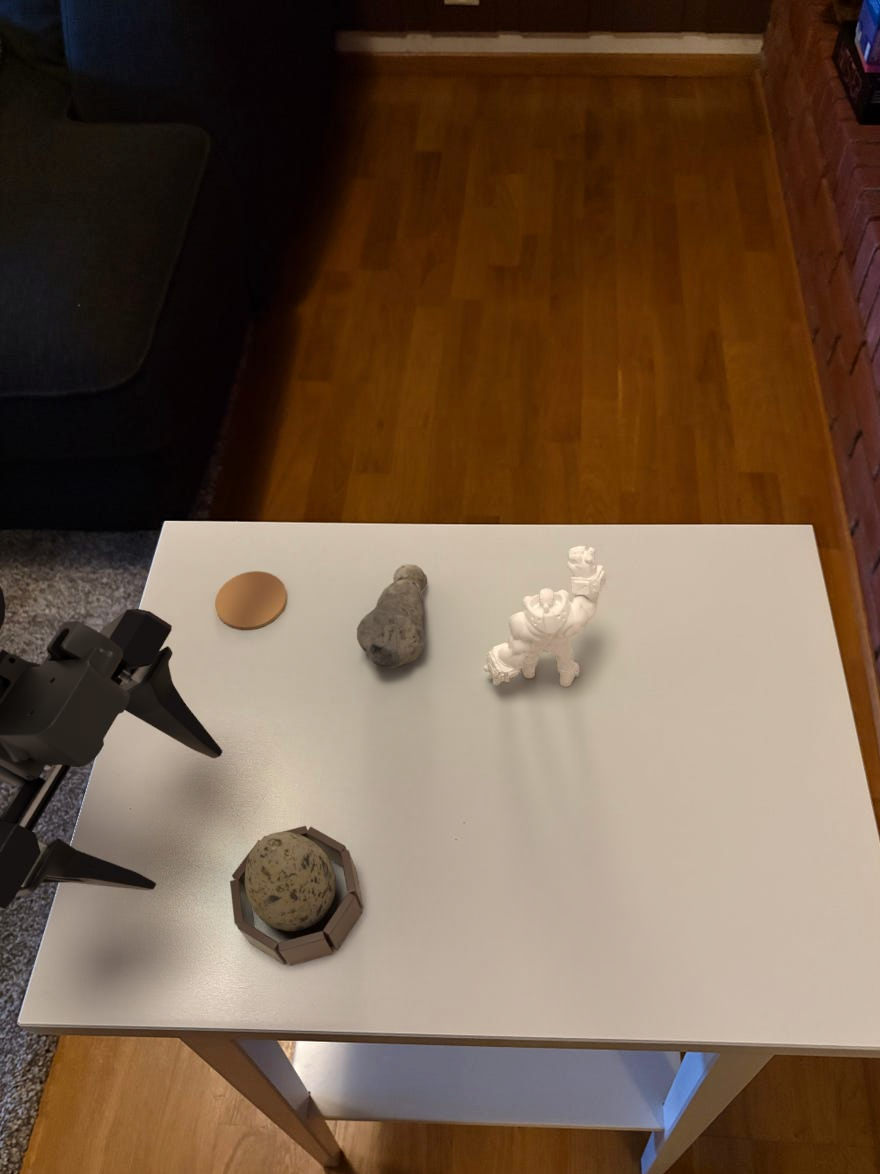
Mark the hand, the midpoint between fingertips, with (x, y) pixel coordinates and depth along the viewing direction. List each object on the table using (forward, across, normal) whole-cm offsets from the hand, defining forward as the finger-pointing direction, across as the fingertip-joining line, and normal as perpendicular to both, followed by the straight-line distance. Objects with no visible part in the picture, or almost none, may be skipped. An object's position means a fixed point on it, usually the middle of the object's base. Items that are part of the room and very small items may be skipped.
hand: (187, 818), depth 56 cm
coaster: (+1, +25, +15) cm, 29 cm away
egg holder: (+12, 0, +4) cm, 13 cm away
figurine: (+21, +24, -4) cm, 32 cm away
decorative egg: (+12, 0, +5) cm, 13 cm away
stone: (+11, +25, +6) cm, 28 cm away
